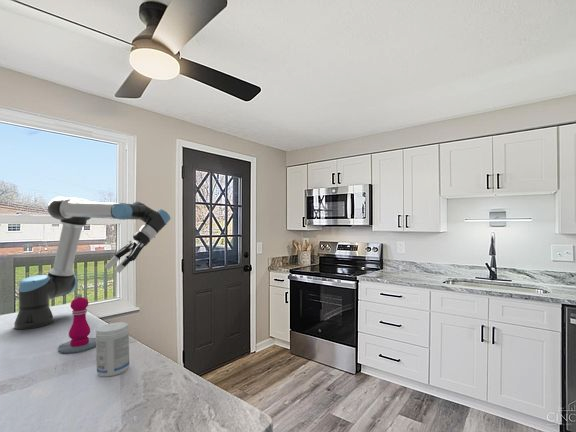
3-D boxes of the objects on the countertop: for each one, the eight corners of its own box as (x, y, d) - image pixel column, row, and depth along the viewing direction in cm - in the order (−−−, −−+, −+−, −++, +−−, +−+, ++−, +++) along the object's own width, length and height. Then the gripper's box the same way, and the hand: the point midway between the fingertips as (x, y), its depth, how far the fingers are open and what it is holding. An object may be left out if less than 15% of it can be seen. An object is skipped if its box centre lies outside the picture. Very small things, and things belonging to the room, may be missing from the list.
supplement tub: (129, 362, 111) (129, 320, 112) (129, 373, 103) (128, 328, 103) (97, 368, 107) (97, 324, 108) (94, 380, 99) (94, 333, 99)
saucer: (49, 350, 123) (49, 348, 123) (84, 338, 136) (84, 335, 136) (74, 355, 118) (74, 352, 118) (107, 342, 131) (107, 339, 131)
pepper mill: (94, 340, 130) (94, 291, 131) (81, 347, 123) (81, 295, 124) (78, 340, 131) (77, 291, 132) (64, 347, 124) (64, 295, 124)
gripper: (161, 241, 150) (128, 277, 139) (139, 239, 167) (108, 271, 156) (150, 230, 146) (114, 267, 135) (129, 229, 163) (96, 262, 152)
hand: (111, 269), depth 145 cm, fingers open, 13 cm apart
